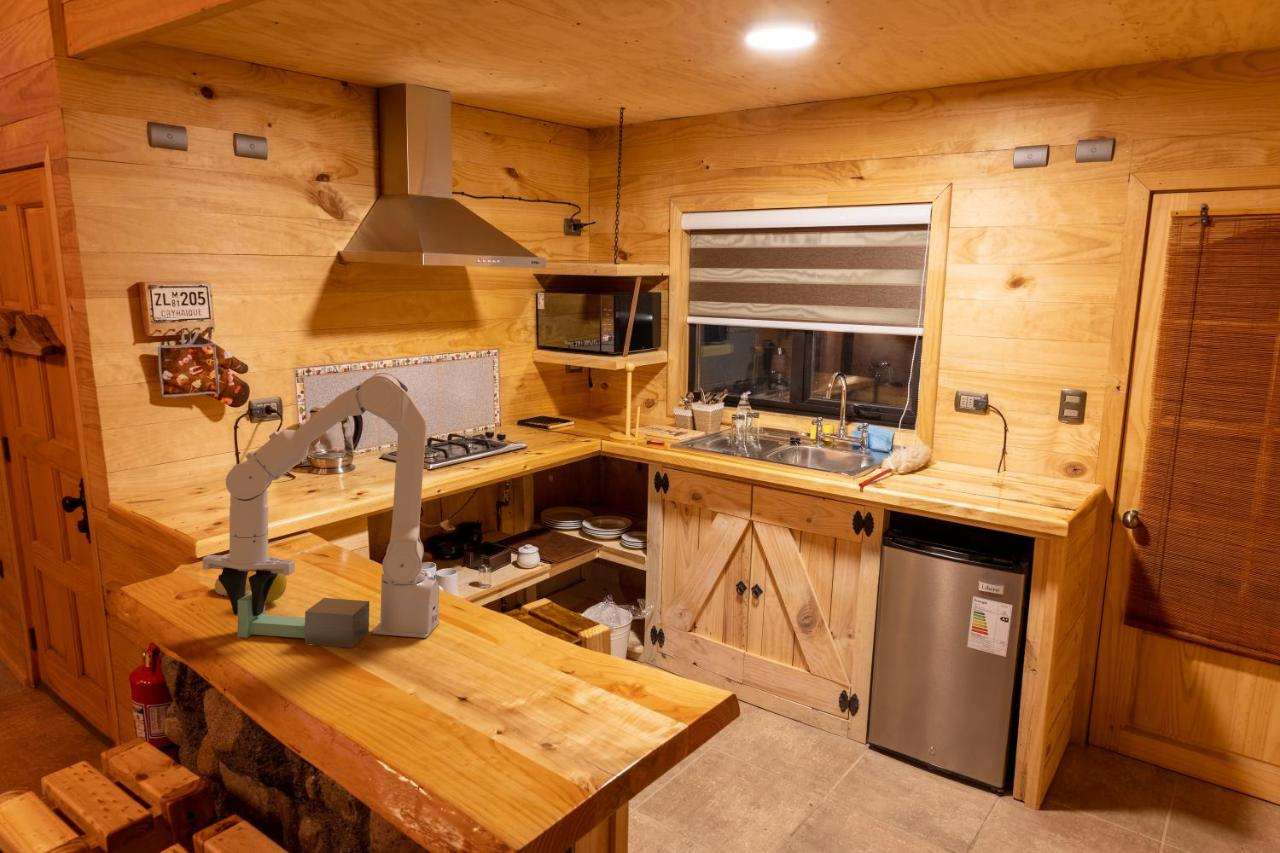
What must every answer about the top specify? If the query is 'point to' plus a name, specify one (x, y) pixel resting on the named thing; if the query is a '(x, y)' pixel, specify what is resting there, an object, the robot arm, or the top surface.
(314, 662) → the top surface
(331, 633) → the block
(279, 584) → the lemon
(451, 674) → the top surface
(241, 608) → the handle
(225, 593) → the bread roll
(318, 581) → the top surface
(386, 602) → the robot arm
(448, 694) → the top surface
